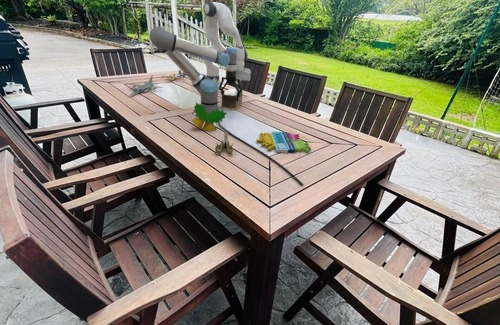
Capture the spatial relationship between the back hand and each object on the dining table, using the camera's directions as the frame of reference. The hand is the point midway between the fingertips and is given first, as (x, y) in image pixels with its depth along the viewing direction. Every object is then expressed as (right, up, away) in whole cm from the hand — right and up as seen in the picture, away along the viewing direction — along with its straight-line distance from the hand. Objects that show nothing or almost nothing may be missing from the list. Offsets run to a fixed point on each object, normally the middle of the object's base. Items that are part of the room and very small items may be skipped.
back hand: (237, 85), depth 216 cm
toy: (-69, +26, +65) cm, 98 cm away
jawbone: (-4, -58, -78) cm, 97 cm away
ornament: (-16, -43, -51) cm, 69 cm away
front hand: (-5, -16, -14) cm, 22 cm away
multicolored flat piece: (+29, -53, -64) cm, 87 cm away
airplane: (-83, -1, +14) cm, 84 cm away
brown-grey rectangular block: (-4, -18, -6) cm, 20 cm away
